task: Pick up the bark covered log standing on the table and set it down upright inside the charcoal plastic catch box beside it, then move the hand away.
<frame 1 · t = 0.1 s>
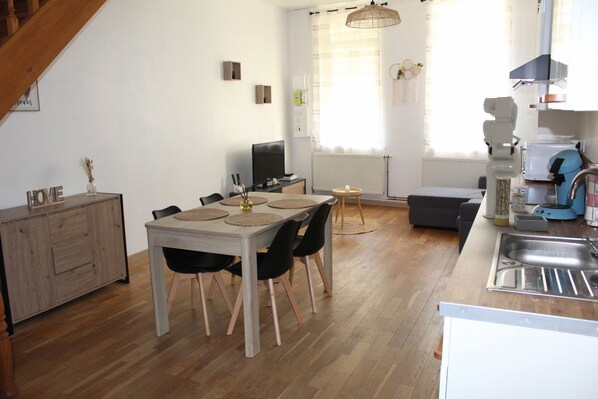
hand: (501, 155, 249), 37 cm above the table, tool pointing down, fingers open, 9 cm apart
catch box: (530, 227, 249), on the table
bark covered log: (501, 225, 256), on the table
french press: (516, 210, 295), on the table
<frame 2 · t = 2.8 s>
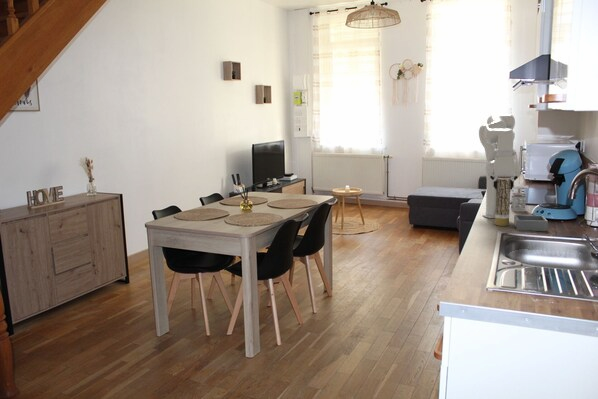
hand: (503, 188, 253), 19 cm above the table, tool pointing down, fingers closed on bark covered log, 6 cm apart
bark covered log: (501, 225, 256), on the table, touching gripper
everything else where it was.
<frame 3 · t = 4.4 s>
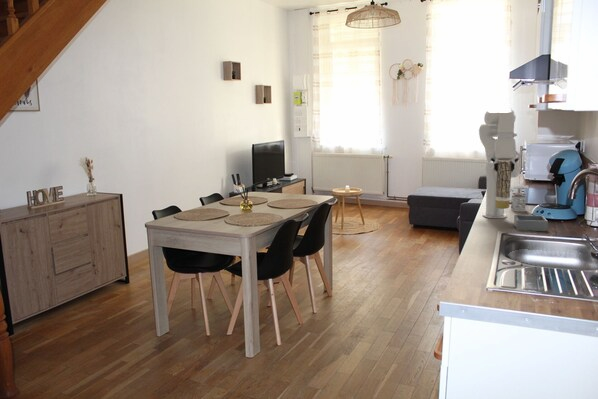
hand: (504, 170, 252), 28 cm above the table, tool pointing down, fingers closed on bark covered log, 6 cm apart
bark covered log: (502, 208, 255), point 9 cm above the table, touching gripper
everything else where it was.
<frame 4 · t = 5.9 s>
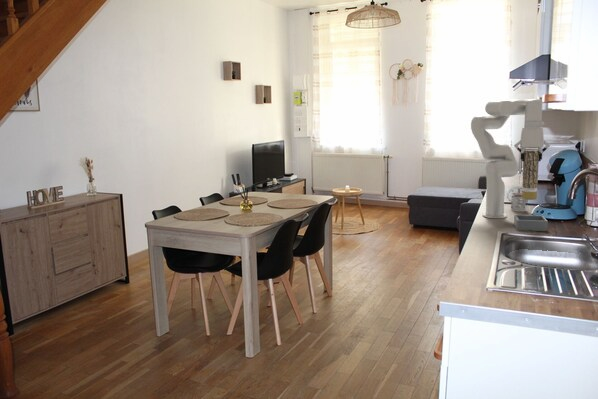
hand: (531, 160, 244), 34 cm above the table, tool pointing down, fingers closed on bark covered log, 6 cm apart
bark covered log: (529, 199, 247), point 14 cm above the table, touching gripper
everything else where it was.
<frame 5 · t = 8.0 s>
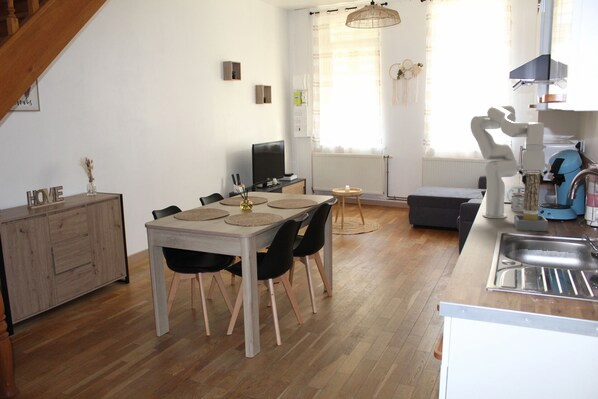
hand: (532, 183, 245), 23 cm above the table, tool pointing down, fingers closed on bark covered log, 6 cm apart
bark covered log: (530, 221, 248), point 3 cm above the table, touching gripper
everything else where it was.
when the fingers open (21 cm above the table, at t = 9.3 s): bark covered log drops 1 cm, resting on catch box.
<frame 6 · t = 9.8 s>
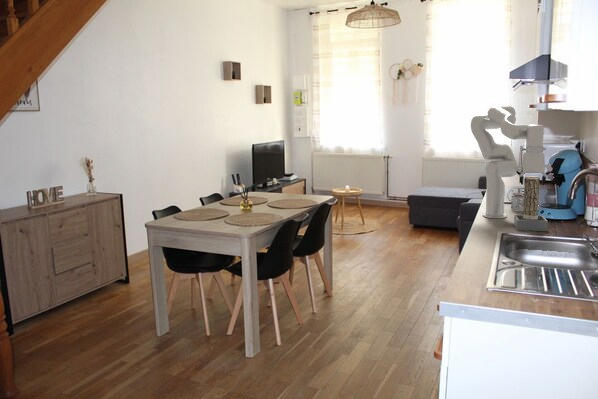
hand: (532, 184, 245), 22 cm above the table, tool pointing down, fingers open, 9 cm apart
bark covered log: (529, 226, 249), point 1 cm above the table, touching catch box
everything else where it was.
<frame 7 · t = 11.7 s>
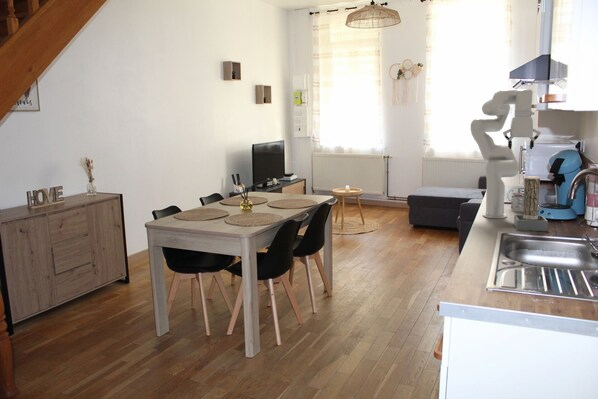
hand: (520, 148, 248), 40 cm above the table, tool pointing down, fingers open, 9 cm apart
nothing on the table moved.
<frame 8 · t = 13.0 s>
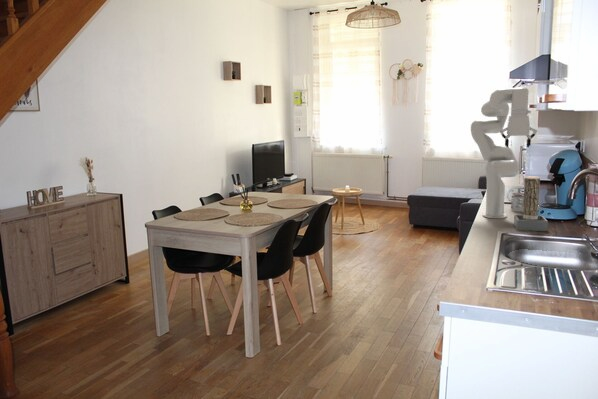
hand: (517, 147, 249), 40 cm above the table, tool pointing down, fingers open, 9 cm apart
nothing on the table moved.
at the end: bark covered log 0.2 cm off-centre on the catch box, point 0.6 cm above the catch box's base; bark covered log tilted 0°; the gripper is holding nothing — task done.
